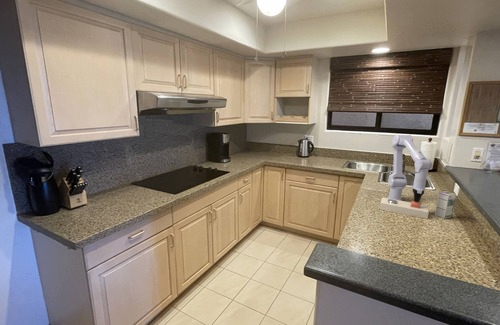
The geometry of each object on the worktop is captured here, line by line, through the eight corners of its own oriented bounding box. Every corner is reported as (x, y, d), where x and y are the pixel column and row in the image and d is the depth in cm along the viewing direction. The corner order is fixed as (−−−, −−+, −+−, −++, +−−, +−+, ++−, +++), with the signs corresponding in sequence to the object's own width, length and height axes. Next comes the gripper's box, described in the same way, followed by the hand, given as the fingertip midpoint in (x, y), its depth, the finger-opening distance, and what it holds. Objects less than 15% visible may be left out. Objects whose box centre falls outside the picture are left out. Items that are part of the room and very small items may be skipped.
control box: (381, 203, 160) (382, 197, 159) (425, 211, 148) (427, 205, 147) (379, 209, 150) (380, 202, 149) (427, 218, 138) (428, 212, 137)
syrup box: (444, 218, 138) (449, 194, 135) (434, 214, 144) (438, 191, 141) (451, 217, 140) (457, 193, 137) (441, 213, 145) (446, 190, 142)
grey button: (387, 205, 155) (388, 198, 154) (396, 207, 153) (397, 200, 152) (386, 208, 151) (387, 201, 150) (396, 210, 148) (397, 203, 148)
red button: (409, 207, 149) (410, 200, 148) (419, 209, 146) (421, 202, 145) (409, 210, 145) (411, 203, 144) (420, 212, 142) (421, 205, 141)
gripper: (411, 175, 149) (407, 196, 152) (412, 181, 137) (408, 204, 140) (425, 177, 146) (421, 199, 149) (428, 183, 134) (423, 206, 137)
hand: (416, 201), depth 144 cm, fingers closed
